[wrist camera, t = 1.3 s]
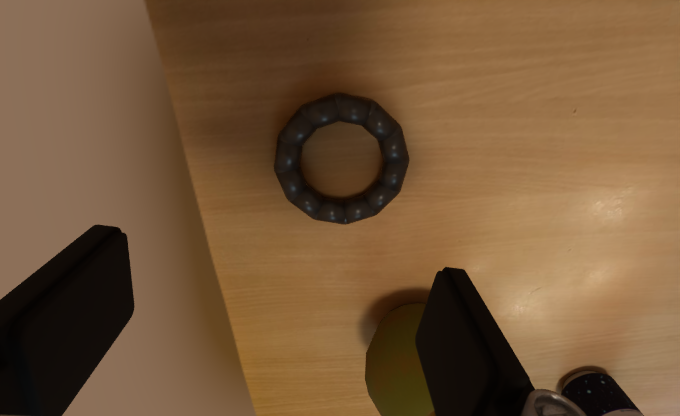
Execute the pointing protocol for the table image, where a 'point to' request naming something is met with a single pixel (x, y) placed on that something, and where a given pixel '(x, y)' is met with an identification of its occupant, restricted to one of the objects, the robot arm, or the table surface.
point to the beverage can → (598, 395)
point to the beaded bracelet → (349, 112)
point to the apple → (398, 366)
